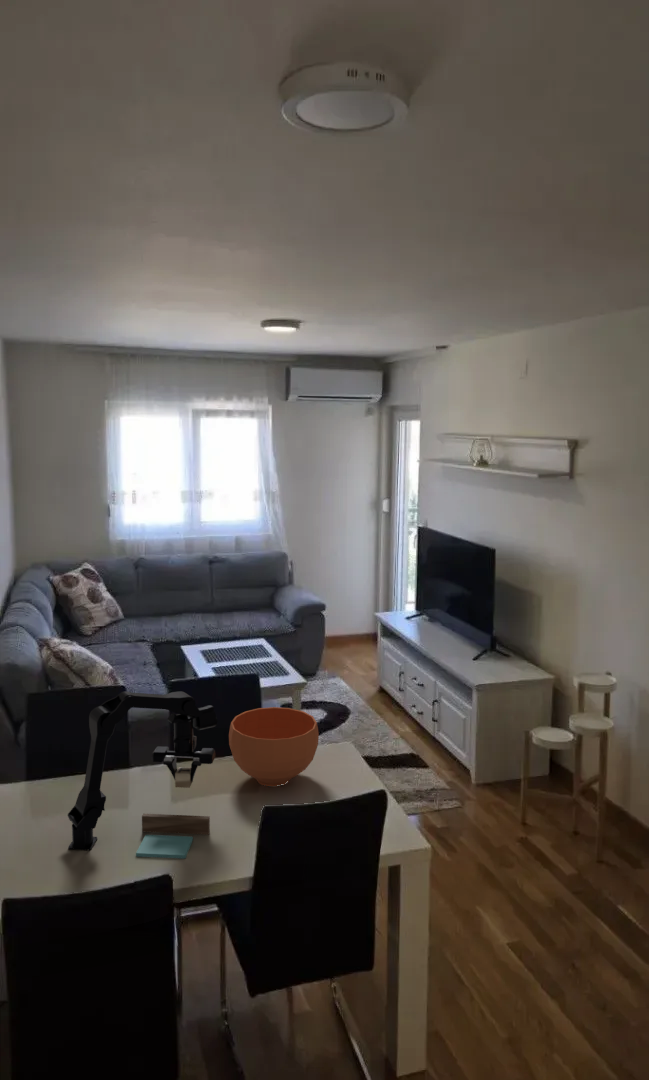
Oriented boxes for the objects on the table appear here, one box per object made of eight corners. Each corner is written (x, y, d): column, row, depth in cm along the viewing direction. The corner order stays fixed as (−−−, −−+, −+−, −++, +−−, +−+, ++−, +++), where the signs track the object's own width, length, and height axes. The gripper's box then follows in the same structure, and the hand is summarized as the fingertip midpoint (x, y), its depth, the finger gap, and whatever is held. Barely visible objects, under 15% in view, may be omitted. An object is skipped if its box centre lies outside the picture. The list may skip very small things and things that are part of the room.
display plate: (185, 858, 220) (185, 855, 220) (136, 856, 221) (135, 853, 221) (192, 839, 230) (192, 836, 230) (145, 837, 231) (145, 834, 231)
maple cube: (189, 787, 241) (189, 773, 241) (175, 787, 242) (175, 773, 241) (192, 781, 246) (192, 767, 245) (178, 780, 246) (178, 766, 245)
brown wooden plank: (208, 834, 233) (208, 819, 232) (142, 831, 234) (141, 816, 233) (209, 831, 235) (209, 816, 234) (143, 829, 236) (143, 813, 235)
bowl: (333, 773, 275) (334, 717, 272) (286, 808, 249) (286, 747, 246) (262, 754, 290) (263, 700, 287) (211, 785, 264) (211, 727, 261)
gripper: (218, 724, 249) (218, 770, 251) (160, 722, 250) (161, 768, 252) (211, 738, 238) (212, 786, 240) (150, 736, 239) (151, 784, 241)
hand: (184, 780), depth 243 cm, fingers closed on maple cube, 4 cm apart
